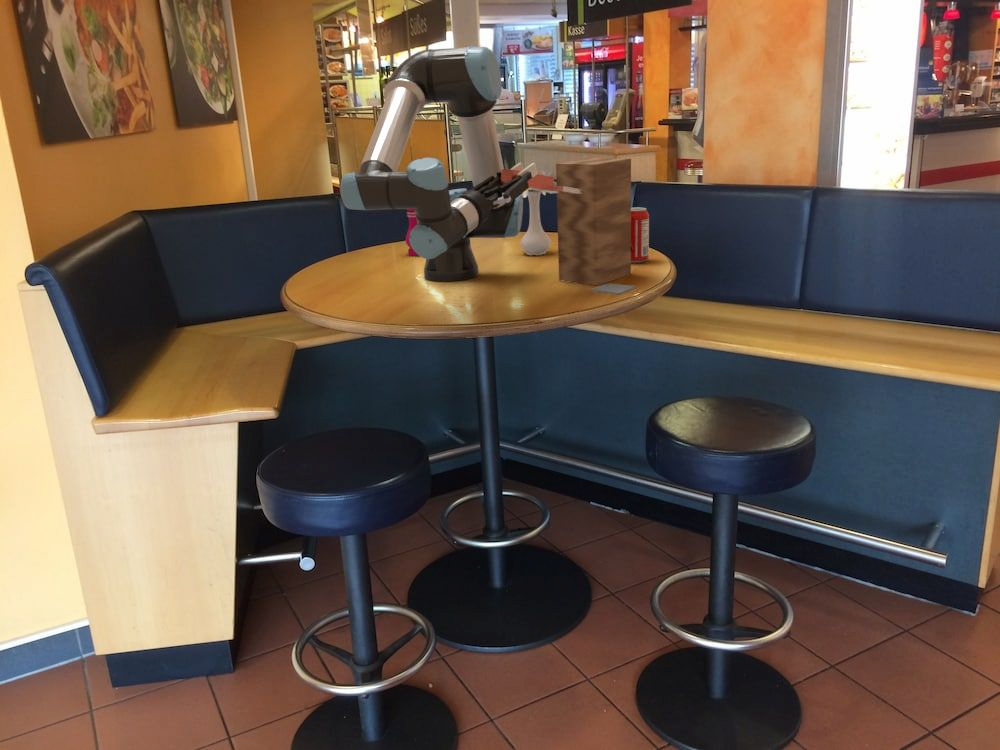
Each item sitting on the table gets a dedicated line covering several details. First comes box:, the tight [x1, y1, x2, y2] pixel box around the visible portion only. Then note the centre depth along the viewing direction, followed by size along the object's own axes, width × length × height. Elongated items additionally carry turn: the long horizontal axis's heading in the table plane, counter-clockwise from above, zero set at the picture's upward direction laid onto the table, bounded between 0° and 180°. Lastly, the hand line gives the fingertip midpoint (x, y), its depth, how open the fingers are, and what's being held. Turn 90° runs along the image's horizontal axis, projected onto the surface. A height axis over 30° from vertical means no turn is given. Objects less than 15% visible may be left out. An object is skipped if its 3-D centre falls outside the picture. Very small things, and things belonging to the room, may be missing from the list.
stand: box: [555, 157, 632, 286], centre depth 216 cm, size 12×16×30 cm
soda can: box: [631, 206, 650, 264], centre depth 235 cm, size 8×8×15 cm
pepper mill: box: [405, 209, 420, 257], centre depth 261 cm, size 7×7×20 cm
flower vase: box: [520, 170, 557, 256], centre depth 252 cm, size 13×18×25 cm
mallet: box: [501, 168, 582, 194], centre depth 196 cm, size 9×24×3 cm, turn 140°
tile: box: [590, 282, 636, 296], centre depth 206 cm, size 8×8×1 cm
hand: (528, 168), depth 193 cm, fingers closed on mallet, 3 cm apart
